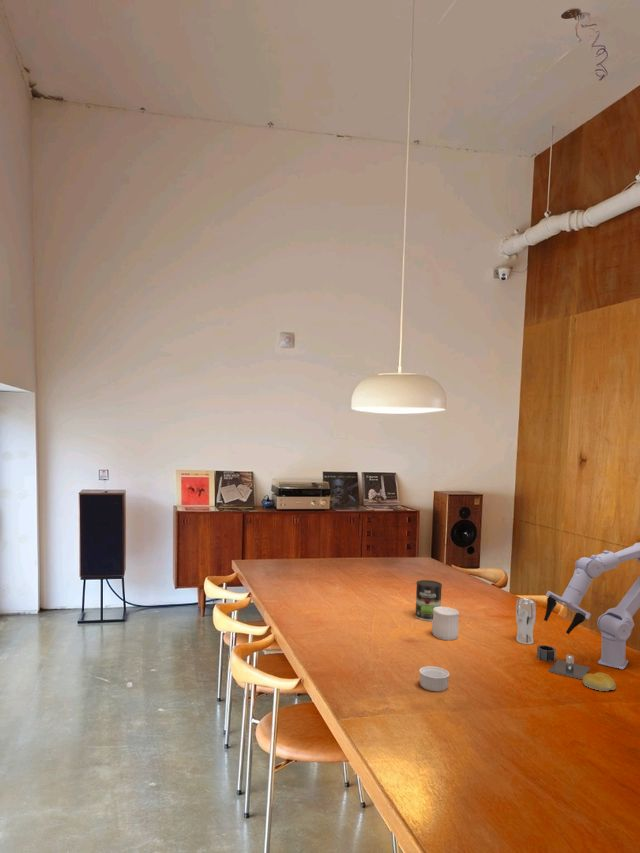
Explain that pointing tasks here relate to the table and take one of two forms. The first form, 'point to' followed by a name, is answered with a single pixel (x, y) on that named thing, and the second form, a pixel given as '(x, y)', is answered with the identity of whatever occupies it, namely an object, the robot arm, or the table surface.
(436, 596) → the coffee can
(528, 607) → the beer glass
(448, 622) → the cup
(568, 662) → the square steel plate
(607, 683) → the bread roll
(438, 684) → the ramekin
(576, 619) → the robot arm
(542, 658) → the ring
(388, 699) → the table surface
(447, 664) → the table surface
